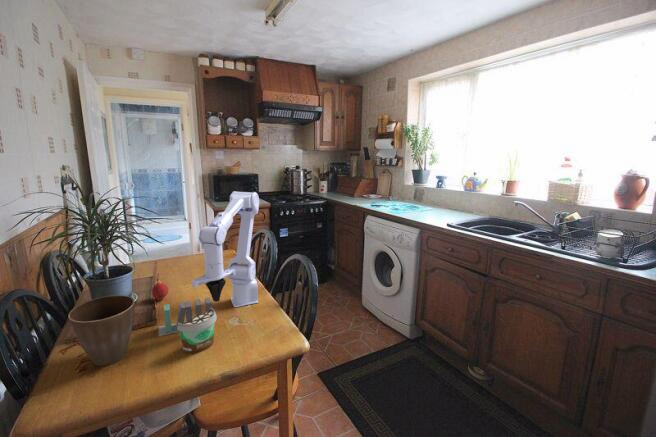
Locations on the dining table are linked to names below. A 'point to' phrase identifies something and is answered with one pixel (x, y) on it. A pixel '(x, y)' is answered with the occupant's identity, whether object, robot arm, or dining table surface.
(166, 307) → the domino
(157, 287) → the onion
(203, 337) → the food container
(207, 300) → the domino
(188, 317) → the domino
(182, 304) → the domino
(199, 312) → the domino
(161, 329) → the coaster
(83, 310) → the plant pot
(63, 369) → the dining table surface
